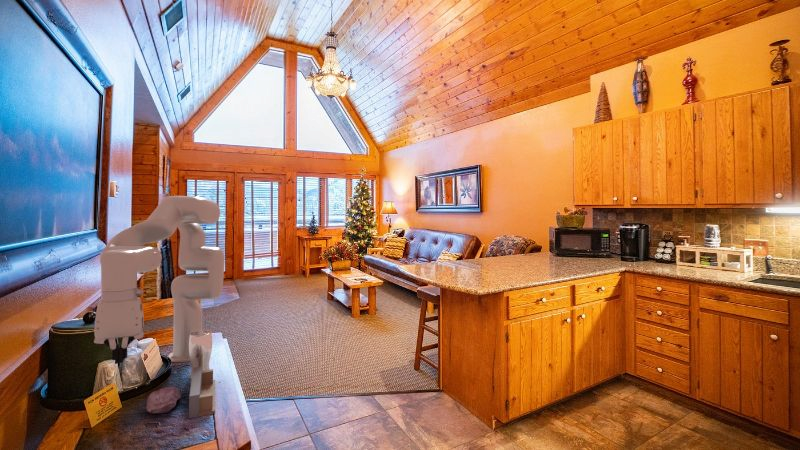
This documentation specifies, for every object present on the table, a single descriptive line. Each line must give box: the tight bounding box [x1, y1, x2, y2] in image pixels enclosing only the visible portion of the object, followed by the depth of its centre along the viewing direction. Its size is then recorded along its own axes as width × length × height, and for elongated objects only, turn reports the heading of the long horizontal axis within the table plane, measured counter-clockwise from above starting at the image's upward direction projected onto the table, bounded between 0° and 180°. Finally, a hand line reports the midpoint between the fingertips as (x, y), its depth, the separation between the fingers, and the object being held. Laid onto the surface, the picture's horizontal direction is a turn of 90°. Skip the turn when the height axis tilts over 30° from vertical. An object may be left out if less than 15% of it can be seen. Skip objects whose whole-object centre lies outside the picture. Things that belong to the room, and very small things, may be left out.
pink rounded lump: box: [145, 386, 182, 414], centre depth 100 cm, size 8×14×5 cm, turn 27°
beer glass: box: [189, 329, 213, 381], centre depth 119 cm, size 7×7×15 cm
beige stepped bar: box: [188, 366, 216, 419], centre depth 105 cm, size 20×6×6 cm, turn 28°
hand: (120, 361), depth 96 cm, fingers closed
